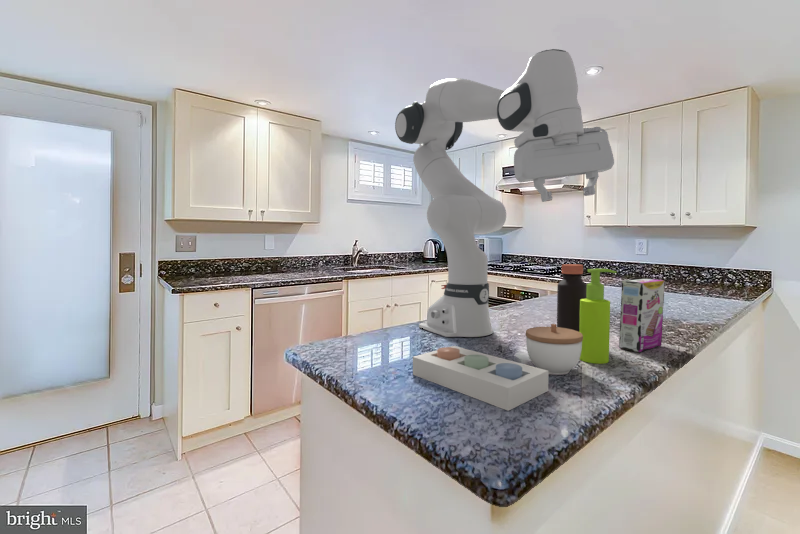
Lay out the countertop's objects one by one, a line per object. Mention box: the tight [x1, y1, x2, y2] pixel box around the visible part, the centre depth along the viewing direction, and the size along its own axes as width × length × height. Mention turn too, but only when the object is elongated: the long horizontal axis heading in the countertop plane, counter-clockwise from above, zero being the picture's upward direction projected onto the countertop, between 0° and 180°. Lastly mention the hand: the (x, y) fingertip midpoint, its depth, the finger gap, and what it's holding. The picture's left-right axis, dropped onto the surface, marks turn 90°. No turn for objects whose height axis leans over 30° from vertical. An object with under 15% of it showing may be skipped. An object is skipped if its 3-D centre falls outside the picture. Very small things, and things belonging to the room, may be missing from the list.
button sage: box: [464, 355, 489, 370], centre depth 72 cm, size 4×4×3 cm
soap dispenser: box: [579, 267, 618, 365], centre depth 84 cm, size 6×7×20 cm
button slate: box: [496, 363, 522, 380], centre depth 67 cm, size 4×4×3 cm
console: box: [412, 345, 549, 412], centre depth 72 cm, size 22×12×4 cm, turn 40°
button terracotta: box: [436, 346, 460, 361], centre depth 78 cm, size 4×4×3 cm
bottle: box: [556, 263, 587, 332], centre depth 98 cm, size 7×7×20 cm
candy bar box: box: [618, 278, 666, 353], centre depth 94 cm, size 11×5×16 cm, turn 123°
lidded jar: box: [525, 323, 583, 376], centre depth 79 cm, size 11×11×9 cm
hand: (568, 198), depth 80 cm, fingers open, 8 cm apart
